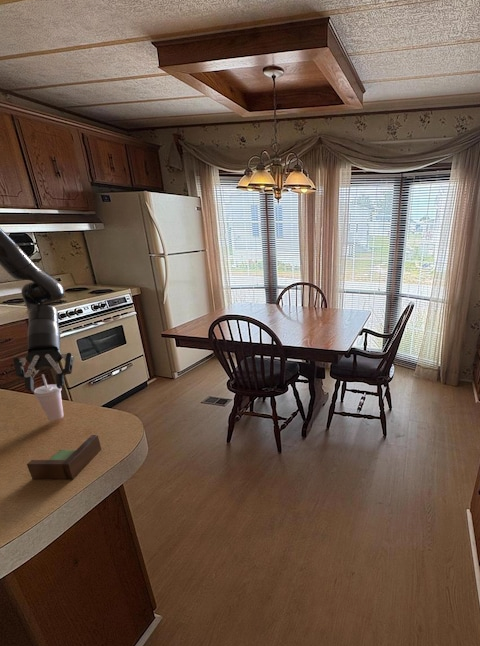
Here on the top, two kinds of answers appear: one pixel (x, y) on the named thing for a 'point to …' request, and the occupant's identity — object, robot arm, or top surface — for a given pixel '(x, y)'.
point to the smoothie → (50, 400)
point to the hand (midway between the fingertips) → (45, 389)
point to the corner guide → (65, 462)
